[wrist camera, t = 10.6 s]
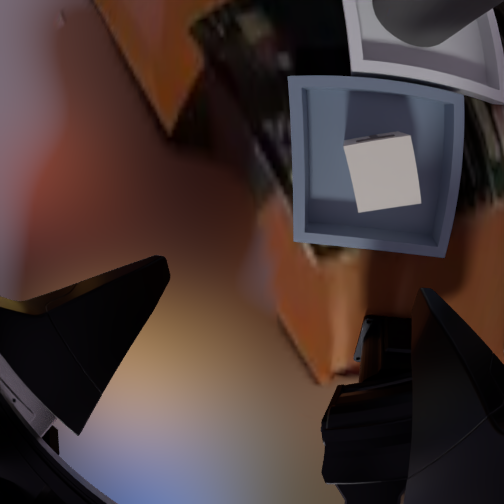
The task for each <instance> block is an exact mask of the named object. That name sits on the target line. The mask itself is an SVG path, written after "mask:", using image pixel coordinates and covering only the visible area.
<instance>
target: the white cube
mask: <svg viewBox="0 0 504 504" xmlns="http://www.w3.org/2000/svg"><path fill="white" fill-rule="evenodd" d="M343 147H344V151H345V155H346V159H347V163H348V167H349V171H350V175H351V180H352V184H353V189H354V193H355V198H356V203H357V208H358V213H360V212H366V211H373V210H380V209H386V208H393V207H400V206H407V205H414V204H421V196H420V187H419V180H418V173H417V167H416V161H415V155H414V150H413V145H412V140H411V136H410V135H408V134H405V133H402V132H399V131H396V132H389V133H383V134H376V135H370V136H365V137H359V138H354V139H348V140H344V145H343Z"/></svg>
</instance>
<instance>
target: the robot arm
mask: <svg viewBox="0 0 504 504" xmlns="http://www.w3.org/2000/svg"><path fill="white" fill-rule="evenodd" d="M169 280H170V272H169V268H168V264H167V260H166V258H165V257H164V256H158V255H154V256H151V257H148V258H146V259H143V260H140V261H137V262H134V263H131V264H128V265H125V266H123V267H120V268H117V269H114V270H111V271H108V272H106V273H103V274H100V275H97V276H95V277H92V278H89V279H87V280H84V281H81V282H79V283H76V284H73V285H70V286H68V287H65V288H62V289H59V290H56V291H53V292H50V293H47V294H44V295H41V296H38V297H35V298H32V299H29V300H25V301H14V300H10V299H7V298H4V297H1V296H0V504H117V503H116V502H114V501H113V500H111V499H110V498H109V497H107V496H106V495H104V494H103V493H102V492H100V491H99V490H98V489H96V488H95V487H94V486H93V485H91V484H90V483H89V482H88V481H86V480H85V479H84V478H83V477H82V476H80V475H79V474H78V473H77V472H76V471H75V470H73V469H72V468H71V467H70V466H69V465H68V464H67V463H66V462H65V461H64V460H63V459H62V458H60V457H59V456H58V455H59V443H58V442H59V441H58V430H57V429H56V428H55V427H54V426H53V423H54V422H55V421H56V420H57V418H58V419H59V420H60V421H61V422H62V423H63V424H65V425H66V426H67V427H68V428H69V429H70V430H71V431H73V432H74V433H75V434H76V435H77V436H79V435H80V433H81V432H82V430H83V428H84V426H85V424H86V422H87V421H88V419H89V417H90V415H91V413H92V412H93V410H94V408H95V406H96V404H97V403H98V401H99V399H100V397H101V396H102V393H103V392H104V390H105V388H106V387H107V385H108V383H109V382H110V380H111V378H112V376H113V375H114V373H115V371H116V370H117V368H118V366H119V365H120V363H121V362H122V360H123V358H124V357H125V355H126V353H127V352H128V350H129V348H130V347H131V345H132V344H133V342H134V340H135V339H136V337H137V336H138V334H139V332H140V331H141V329H142V328H143V326H144V325H145V323H146V322H147V320H148V319H149V317H150V315H151V314H152V312H153V311H154V309H155V307H156V305H157V303H158V301H159V299H160V297H161V296H162V294H163V292H164V290H165V288H166V286H167V284H168V282H169ZM367 320H371V321H367ZM492 353H493V352H492V350H491V349H490V348H489V347H488V346H487V345H486V344H485V343H484V341H483V340H482V339H481V338H480V337H479V336H478V335H477V334H476V333H475V332H474V331H473V329H472V328H471V327H470V326H469V325H468V324H467V323H466V322H465V321H464V320H463V319H462V318H461V317H460V316H459V315H458V314H457V313H456V312H455V311H454V310H453V309H452V308H451V307H450V306H449V305H448V304H447V303H446V302H445V301H444V300H443V299H442V298H441V297H440V296H439V295H438V294H437V293H436V292H435V291H434V290H432V289H430V288H420V289H419V291H418V294H417V297H416V300H415V303H414V306H413V309H412V319H405V318H394V317H384V316H374V315H367V316H365V318H364V321H363V324H362V328H361V332H360V336H359V339H358V343H357V347H356V350H355V353H354V361H357V362H361V363H360V374H359V383H355V384H349V385H338V386H337V388H336V390H335V393H334V395H333V397H332V399H331V402H330V404H329V406H328V408H327V410H326V412H325V415H324V417H323V419H322V422H321V423H322V426H321V432H322V439H323V443H324V445H325V454H324V461H323V466H322V475H323V478H324V481H325V483H326V484H335V485H336V487H337V488H338V490H339V492H340V493H341V495H342V496H343V498H344V500H345V504H504V364H503V363H502V362H501V361H500V360H499V359H498V357H497V356H496V355H495V354H494V353H493V354H492Z"/></svg>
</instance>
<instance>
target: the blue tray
mask: <svg viewBox="0 0 504 504" xmlns="http://www.w3.org/2000/svg"><path fill="white" fill-rule="evenodd" d="M288 86H289V102H290V119H291V141H292V168H293V224H294V242H304V243H314V244H323V245H333V246H343V247H352V248H362V249H371V250H380V251H389V252H398V253H407V254H415V255H424V256H432V257H440V258H445V254H446V251H447V247H448V243H449V239H450V234H451V230H452V225H453V221H454V216H455V210H456V205H457V199H458V192H459V185H460V178H461V169H462V158H463V144H464V95H462V94H458V93H454V92H451V91H446V90H442V89H438V88H433V87H429V86H424V85H418V84H413V83H407V82H400V81H393V80H385V79H376V78H365V77H351V76H288ZM396 131H399V132H402V133H405V134H408V135H410V136H411V140H412V145H413V150H414V155H415V161H416V167H417V173H418V180H419V187H420V196H421V204H414V205H407V206H400V207H393V208H386V209H380V210H373V211H366V212H360V213H358V208H357V203H356V198H355V193H354V189H353V184H352V180H351V175H350V171H349V167H348V163H347V159H346V155H345V151H344V147H343V145H344V140H348V139H354V138H359V137H365V136H370V135H376V134H383V133H389V132H396Z"/></svg>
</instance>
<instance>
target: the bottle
mask: <svg viewBox="0 0 504 504" xmlns="http://www.w3.org/2000/svg"><path fill="white" fill-rule="evenodd" d="M503 1H504V0H372V5H373V10H374V13H375V15H376V17H377V19H378V20H379V22H380V23H381V25H382V26H383V27H384V28H385V29H386V30H387V31H388V32H389V33H391V34H392V35H393V36H395V37H396V38H398V39H399V40H401V41H403V42H405V43H408V44H410V45H414V46H418V47H432V46H436V45H439V44H440V43H442V42H444V41H445V40H447V39H448V38H450V37H451V36H453V35H454V34H456V33H457V32H458V31H460V30H461V29H463V28H464V27H466V26H467V25H468V24H470V23H471V22H473V21H474V20H476V19H477V18H479V17H480V16H482V15H483V14H485V13H486V12H488V11H489V10H491V9H492V8H494V7H495V6H497V5H499V4H500V3H501V2H503Z"/></svg>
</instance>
